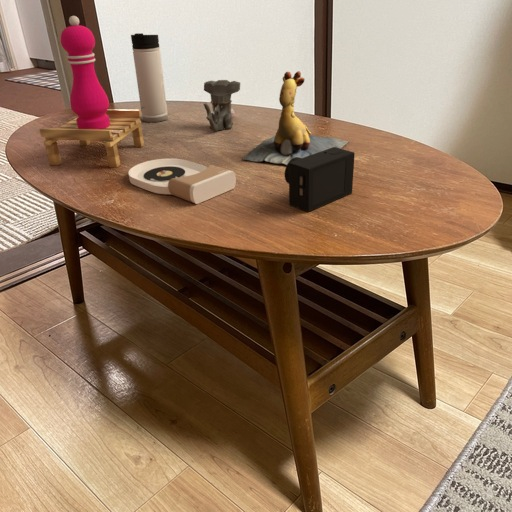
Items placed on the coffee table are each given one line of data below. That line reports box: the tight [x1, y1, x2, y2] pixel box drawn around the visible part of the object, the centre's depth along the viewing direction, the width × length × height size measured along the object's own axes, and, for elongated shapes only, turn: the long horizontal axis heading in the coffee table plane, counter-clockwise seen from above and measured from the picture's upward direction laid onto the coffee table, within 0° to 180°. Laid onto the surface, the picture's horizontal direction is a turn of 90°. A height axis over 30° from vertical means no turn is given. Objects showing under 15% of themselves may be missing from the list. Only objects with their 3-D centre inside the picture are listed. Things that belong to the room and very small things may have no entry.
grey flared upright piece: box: [203, 79, 241, 132], centre depth 119 cm, size 14×18×10 cm
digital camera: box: [284, 147, 355, 213], centre depth 81 cm, size 10×5×7 cm, turn 131°
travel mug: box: [130, 32, 169, 123], centre depth 123 cm, size 6×7×20 cm
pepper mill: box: [60, 15, 110, 129], centre depth 97 cm, size 7×7×20 cm
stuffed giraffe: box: [241, 70, 350, 166], centre depth 100 cm, size 16×18×16 cm
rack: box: [39, 108, 145, 169], centre depth 103 cm, size 14×15×7 cm
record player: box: [128, 157, 237, 205], centre depth 90 cm, size 12×3×20 cm
